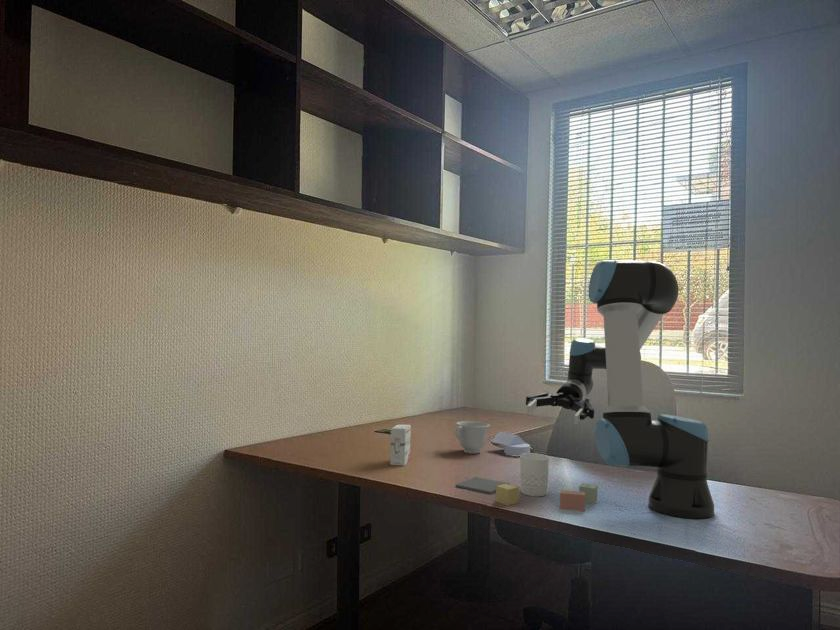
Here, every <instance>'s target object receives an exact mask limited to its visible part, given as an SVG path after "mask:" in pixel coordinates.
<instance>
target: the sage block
mask: <svg viewBox="0 0 840 630" xmlns="http://www.w3.org/2000/svg"><path fill="white" fill-rule="evenodd" d="M598 488H599V484H593V483H585V482H581V484H580V485H579V491H578V492H585V504H593V505H595V504H596V503H597V501H598V492H599V491H598Z"/></svg>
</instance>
